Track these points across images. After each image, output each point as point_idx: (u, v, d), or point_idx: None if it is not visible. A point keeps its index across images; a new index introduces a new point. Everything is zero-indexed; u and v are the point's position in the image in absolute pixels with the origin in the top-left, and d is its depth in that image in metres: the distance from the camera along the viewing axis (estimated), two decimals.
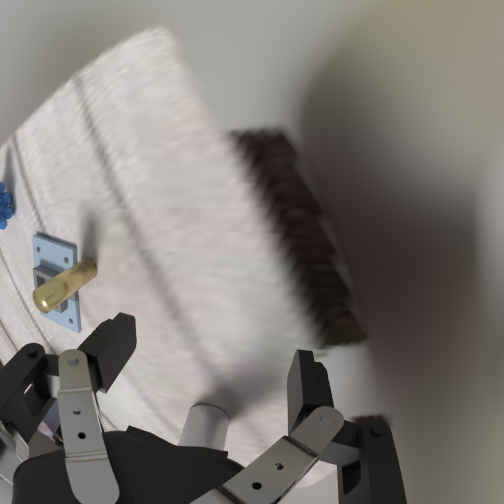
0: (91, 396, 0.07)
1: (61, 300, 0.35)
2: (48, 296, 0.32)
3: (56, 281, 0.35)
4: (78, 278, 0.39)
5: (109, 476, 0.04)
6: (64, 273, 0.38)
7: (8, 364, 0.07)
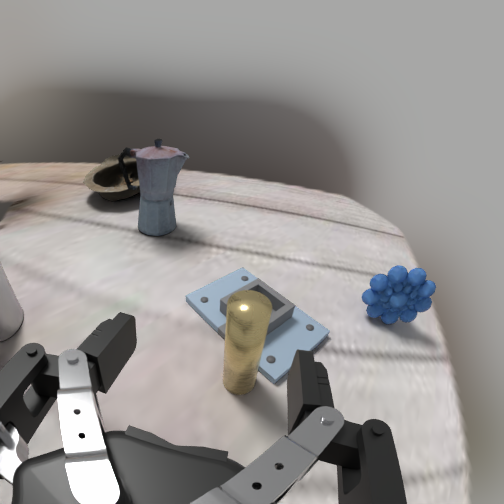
0: (91, 396, 0.07)
1: (227, 332, 0.26)
2: (247, 325, 0.23)
3: (256, 346, 0.25)
4: (236, 370, 0.28)
5: (109, 476, 0.04)
6: (257, 359, 0.27)
7: (8, 364, 0.07)
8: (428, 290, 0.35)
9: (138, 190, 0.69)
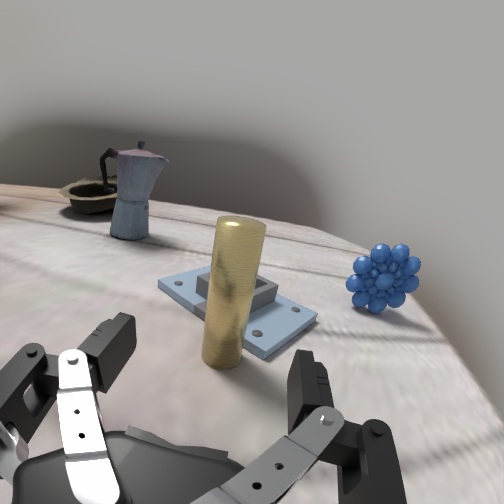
0: (91, 396, 0.07)
1: (214, 259, 0.23)
2: (241, 234, 0.21)
3: (248, 275, 0.23)
4: (221, 319, 0.24)
5: (109, 476, 0.04)
6: (247, 303, 0.24)
7: (8, 364, 0.07)
8: (414, 264, 0.36)
9: (112, 205, 0.66)
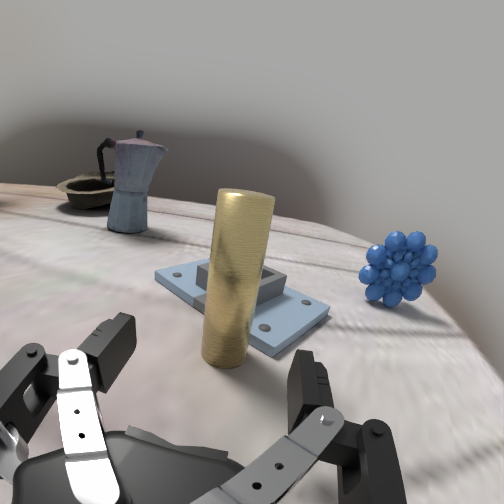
0: (91, 396, 0.07)
1: (215, 236, 0.19)
2: (246, 204, 0.18)
3: (255, 255, 0.19)
4: (223, 309, 0.20)
5: (109, 476, 0.04)
6: (254, 289, 0.20)
7: (8, 364, 0.07)
8: (431, 252, 0.33)
9: (110, 199, 0.64)
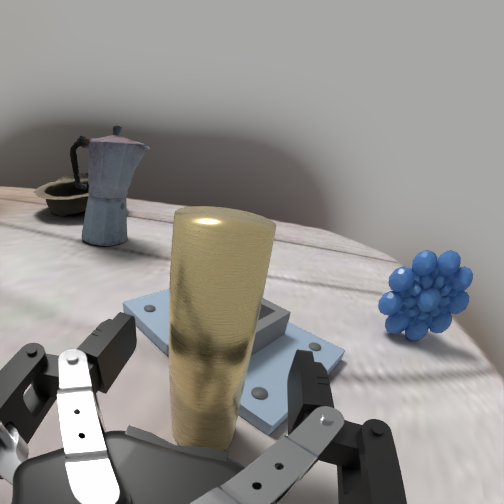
0: (91, 396, 0.07)
1: (172, 293, 0.11)
2: (219, 243, 0.09)
3: (240, 327, 0.11)
4: (193, 398, 0.12)
5: (109, 476, 0.04)
6: (240, 372, 0.12)
7: (8, 364, 0.07)
8: (466, 277, 0.24)
9: None
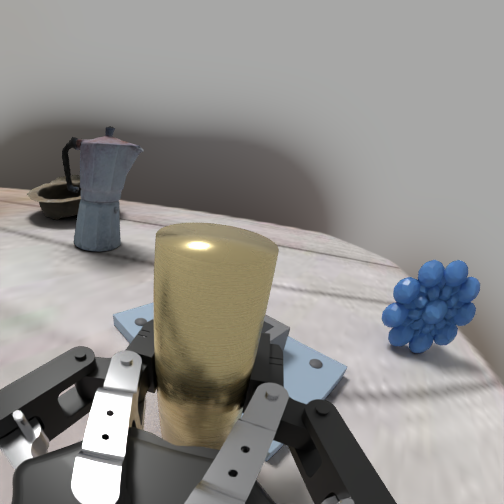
0: (130, 402, 0.07)
1: (156, 326, 0.09)
2: (209, 276, 0.07)
3: (235, 367, 0.09)
4: (184, 435, 0.10)
5: (114, 483, 0.04)
6: (236, 409, 0.10)
7: (51, 362, 0.08)
8: (474, 288, 0.22)
9: None
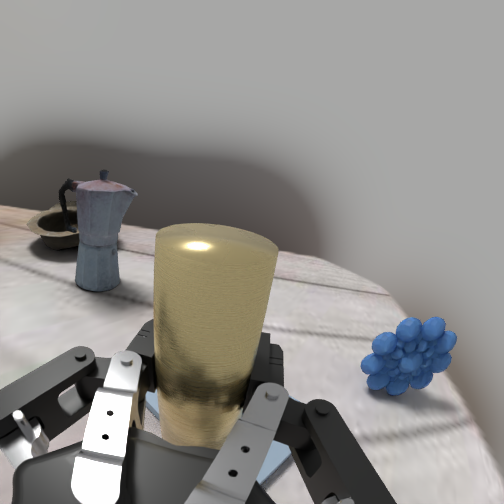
0: (130, 402, 0.07)
1: (156, 327, 0.09)
2: (209, 277, 0.07)
3: (235, 368, 0.09)
4: (184, 435, 0.10)
5: (114, 482, 0.04)
6: (236, 410, 0.10)
7: (51, 362, 0.08)
8: (450, 342, 0.24)
9: None
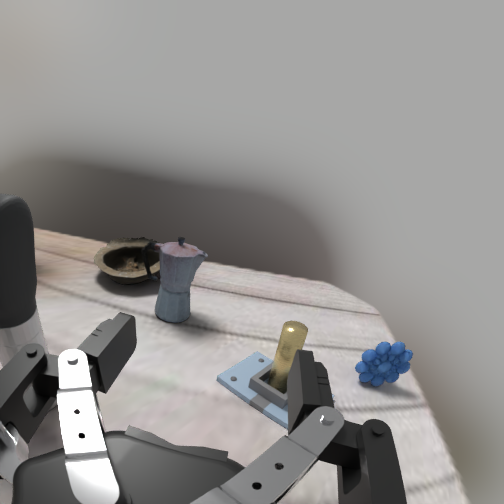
0: (91, 396, 0.07)
1: (281, 346, 0.43)
2: (297, 337, 0.41)
3: None
4: (282, 373, 0.43)
5: (109, 476, 0.04)
6: None
7: (8, 364, 0.07)
8: (407, 356, 0.46)
9: None
